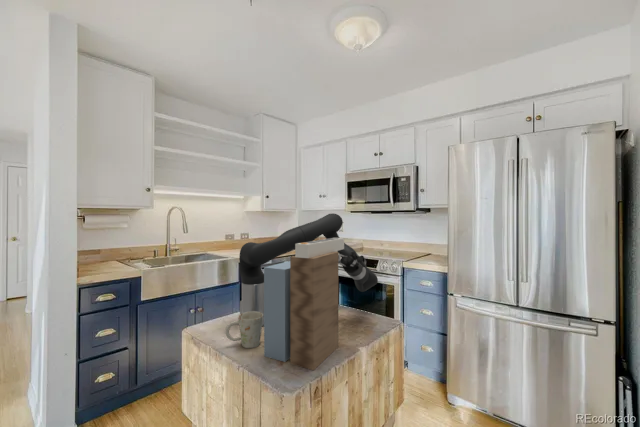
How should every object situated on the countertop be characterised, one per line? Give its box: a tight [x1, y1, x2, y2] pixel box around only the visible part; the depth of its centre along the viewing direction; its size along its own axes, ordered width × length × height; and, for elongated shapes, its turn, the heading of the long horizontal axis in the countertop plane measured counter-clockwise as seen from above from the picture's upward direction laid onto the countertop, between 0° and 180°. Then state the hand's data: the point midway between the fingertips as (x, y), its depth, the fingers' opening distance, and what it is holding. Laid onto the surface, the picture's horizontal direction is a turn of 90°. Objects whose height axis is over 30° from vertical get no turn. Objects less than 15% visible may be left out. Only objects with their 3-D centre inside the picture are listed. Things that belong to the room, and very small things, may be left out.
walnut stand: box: [289, 251, 340, 371], centre depth 93 cm, size 8×17×32 cm, turn 152°
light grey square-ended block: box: [294, 237, 345, 258], centre depth 97 cm, size 4×26×4 cm, turn 152°
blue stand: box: [263, 260, 290, 363], centre depth 98 cm, size 8×17×28 cm, turn 152°
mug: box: [224, 311, 263, 349], centre depth 100 cm, size 8×13×10 cm, turn 107°
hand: (341, 252), depth 111 cm, fingers open, 8 cm apart
